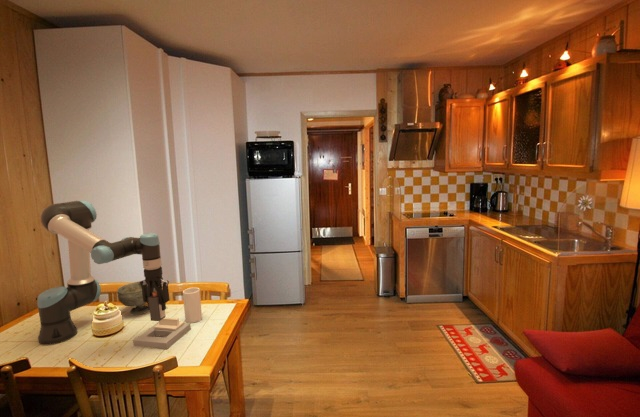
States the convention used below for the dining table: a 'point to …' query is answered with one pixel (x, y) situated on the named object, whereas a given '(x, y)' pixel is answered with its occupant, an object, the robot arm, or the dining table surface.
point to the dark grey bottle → (154, 307)
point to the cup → (192, 305)
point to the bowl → (133, 297)
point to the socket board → (160, 343)
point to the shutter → (169, 324)
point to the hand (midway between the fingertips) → (158, 316)
